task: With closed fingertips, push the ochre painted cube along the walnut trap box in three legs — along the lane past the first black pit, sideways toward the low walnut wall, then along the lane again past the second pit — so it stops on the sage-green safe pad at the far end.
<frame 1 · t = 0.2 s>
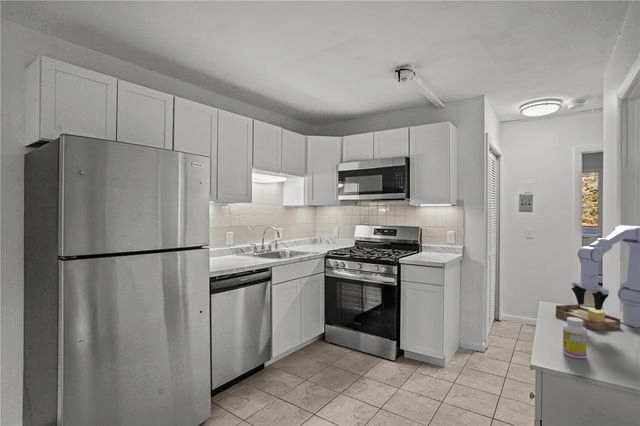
hand: (589, 306, 141), 10 cm above the worktop, fingers open, 7 cm apart
supplement bottle: (574, 355, 118), on the worktop
ochre block: (596, 320, 144), point 3 cm above the worktop, touching trap box
trap box: (586, 321, 151), on the worktop
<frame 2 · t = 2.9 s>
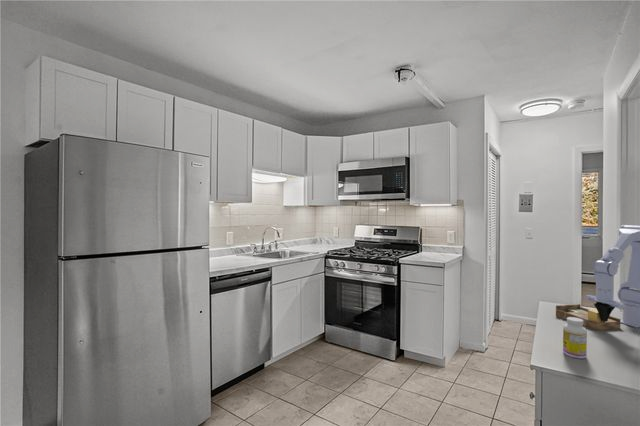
hand: (604, 321, 141), 4 cm above the worktop, fingers closed
ochre block: (595, 320, 144), point 3 cm above the worktop, touching gripper, trap box
everything else where it was.
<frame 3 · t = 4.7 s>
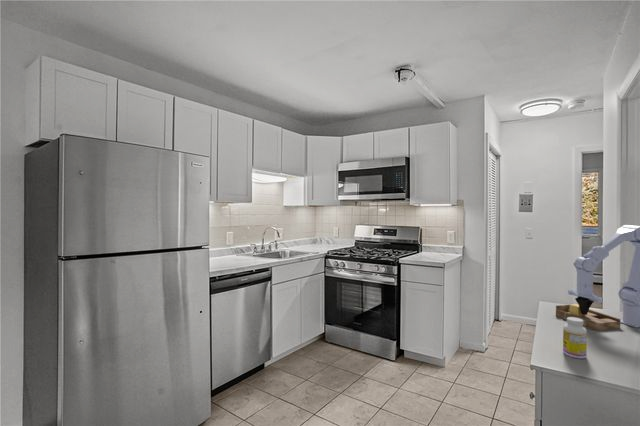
hand: (584, 314, 149), 4 cm above the worktop, fingers closed
ochre block: (577, 314, 153), point 3 cm above the worktop, touching gripper, trap box
everything else where it was.
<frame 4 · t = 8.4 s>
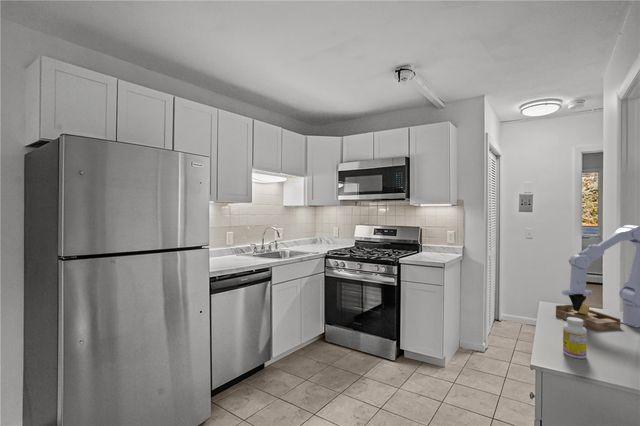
hand: (576, 310, 153), 5 cm above the worktop, fingers closed, pressing on ochre block
ochre block: (579, 312, 153), point 4 cm above the worktop, tilted 17°, touching gripper, trap box
everything else where it was.
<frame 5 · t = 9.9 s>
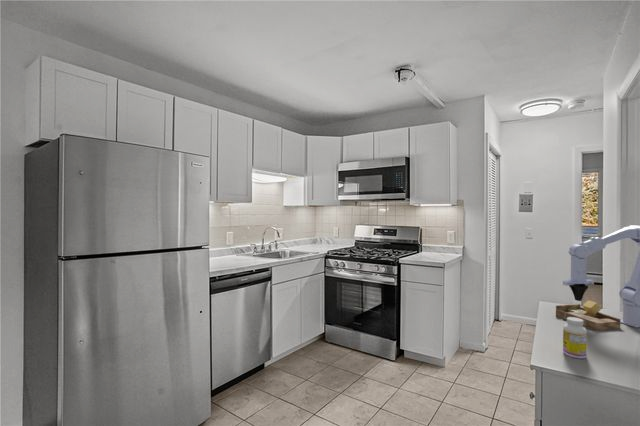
hand: (578, 300, 152), 9 cm above the worktop, fingers closed
ochre block: (588, 310, 153), point 5 cm above the worktop, tilted 55°, touching trap box
everything else where it was.
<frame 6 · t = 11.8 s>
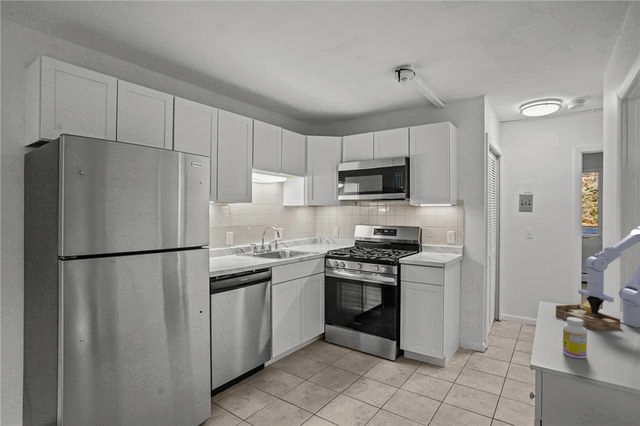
hand: (594, 313, 150), 4 cm above the worktop, fingers closed, pressing on ochre block
ochre block: (588, 309, 153), point 5 cm above the worktop, tilted 54°, touching gripper, trap box
everything else where it was.
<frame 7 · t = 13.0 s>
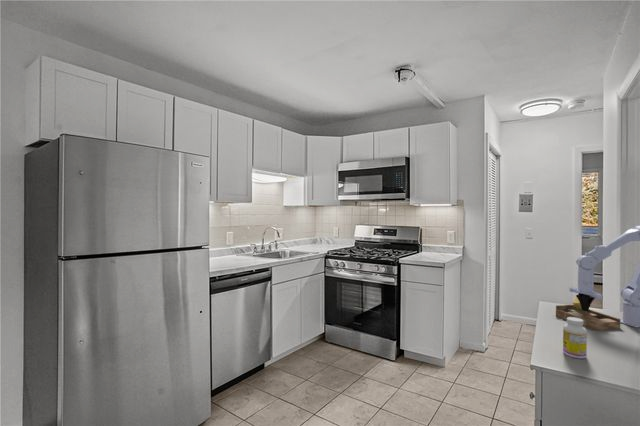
hand: (585, 310, 155), 4 cm above the worktop, fingers closed
ochre block: (579, 306, 158), point 5 cm above the worktop, tilted 52°, touching gripper, trap box
everything else where it was.
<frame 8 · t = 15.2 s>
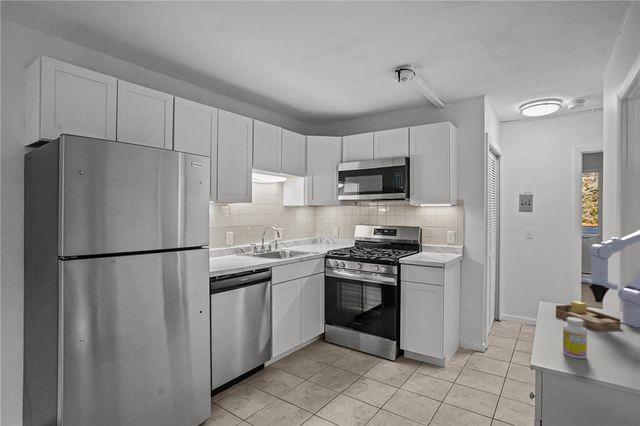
hand: (598, 302, 148), 10 cm above the worktop, fingers closed
ochre block: (578, 311, 157), point 3 cm above the worktop, touching trap box
everything else where it was.
at the end: ochre block 0.6 cm from the target spot, point 3.0 cm above the worktop; ochre block tilted 0° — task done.
